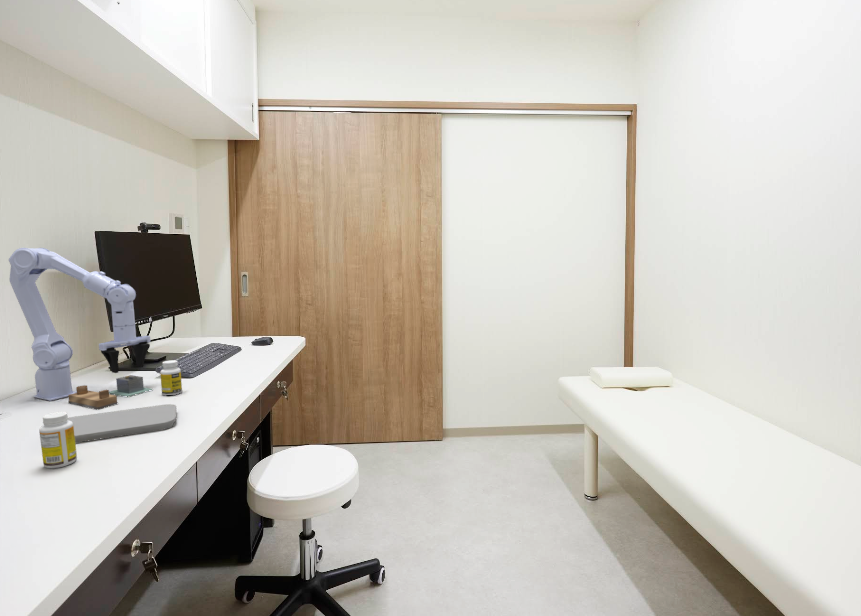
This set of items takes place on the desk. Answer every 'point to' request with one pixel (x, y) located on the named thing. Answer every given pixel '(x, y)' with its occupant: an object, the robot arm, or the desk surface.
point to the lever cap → (130, 384)
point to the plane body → (92, 398)
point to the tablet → (123, 422)
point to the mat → (127, 393)
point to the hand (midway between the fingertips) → (127, 369)
